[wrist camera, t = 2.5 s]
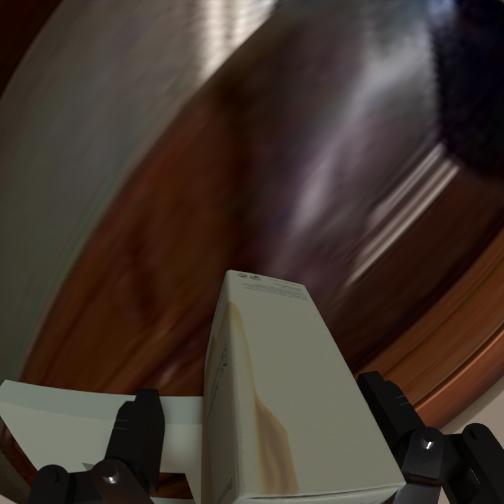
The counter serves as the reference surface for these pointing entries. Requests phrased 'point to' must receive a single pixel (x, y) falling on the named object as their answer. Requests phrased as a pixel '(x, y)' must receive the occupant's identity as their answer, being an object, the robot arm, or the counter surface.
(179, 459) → the socket board
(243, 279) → the skincare box
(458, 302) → the counter surface
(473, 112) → the counter surface
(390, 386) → the robot arm
